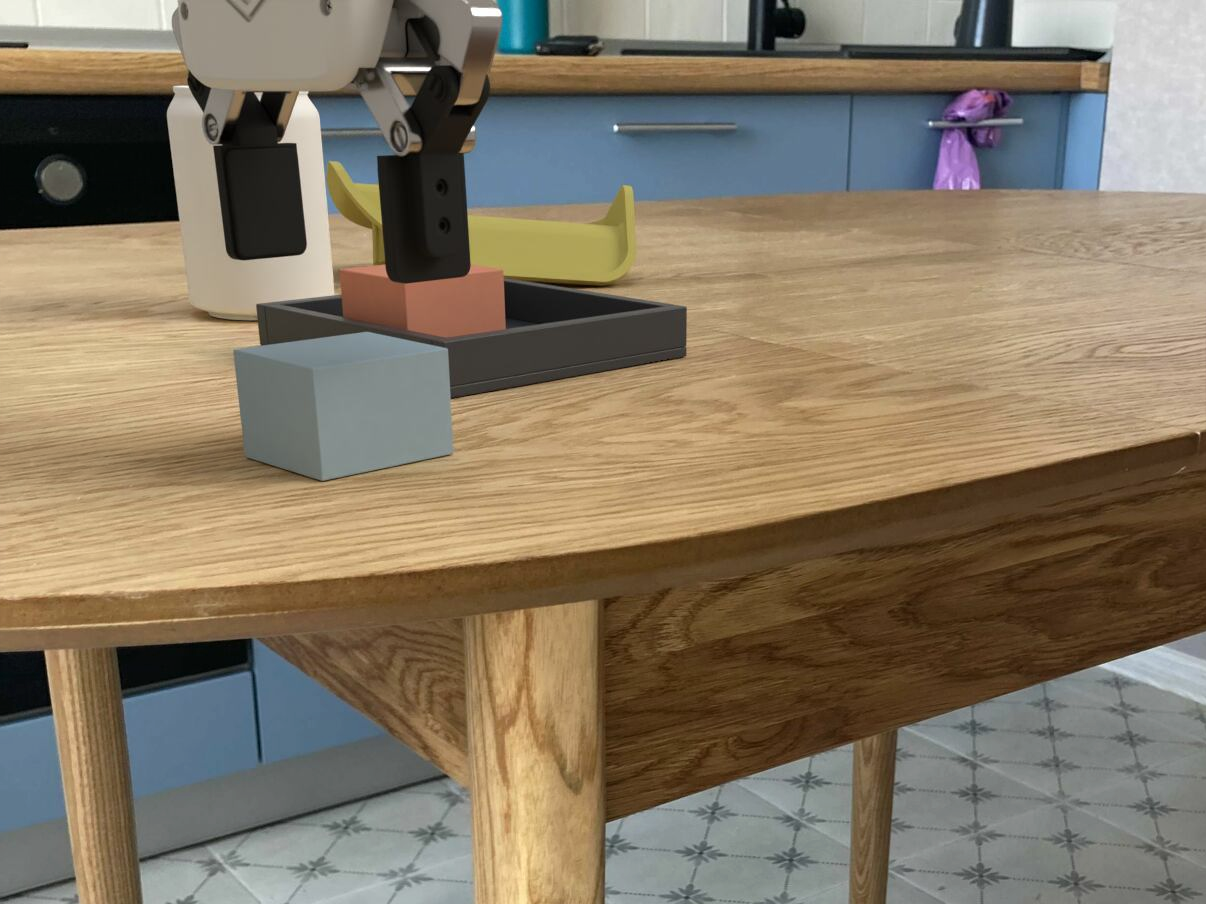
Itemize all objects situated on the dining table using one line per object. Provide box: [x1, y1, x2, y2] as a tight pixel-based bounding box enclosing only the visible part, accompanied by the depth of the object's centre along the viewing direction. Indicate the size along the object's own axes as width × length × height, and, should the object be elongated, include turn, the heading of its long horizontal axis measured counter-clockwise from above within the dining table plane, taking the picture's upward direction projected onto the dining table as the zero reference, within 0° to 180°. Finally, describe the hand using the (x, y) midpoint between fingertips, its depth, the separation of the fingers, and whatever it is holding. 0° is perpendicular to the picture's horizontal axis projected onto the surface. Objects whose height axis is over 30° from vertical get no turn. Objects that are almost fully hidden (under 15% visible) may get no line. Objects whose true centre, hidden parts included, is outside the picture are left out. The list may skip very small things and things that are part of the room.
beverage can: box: [166, 84, 336, 321], centre depth 87 cm, size 8×8×12 cm
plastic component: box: [325, 160, 638, 287], centre depth 104 cm, size 20×7×10 cm
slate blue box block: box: [232, 332, 454, 482], centre depth 58 cm, size 5×6×4 cm
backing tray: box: [256, 278, 688, 399], centre depth 78 cm, size 15×16×2 cm
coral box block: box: [339, 264, 506, 338], centre depth 75 cm, size 5×6×4 cm
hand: (344, 267), depth 56 cm, fingers open, 9 cm apart
